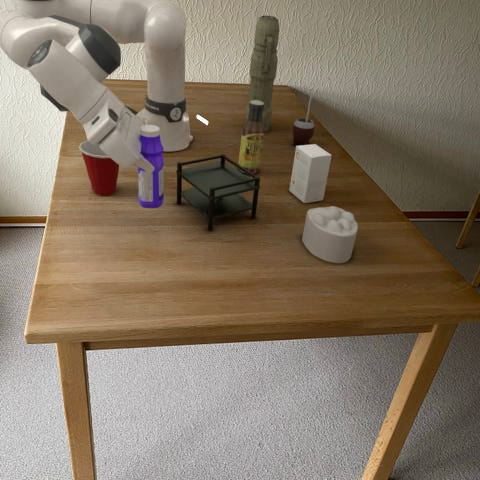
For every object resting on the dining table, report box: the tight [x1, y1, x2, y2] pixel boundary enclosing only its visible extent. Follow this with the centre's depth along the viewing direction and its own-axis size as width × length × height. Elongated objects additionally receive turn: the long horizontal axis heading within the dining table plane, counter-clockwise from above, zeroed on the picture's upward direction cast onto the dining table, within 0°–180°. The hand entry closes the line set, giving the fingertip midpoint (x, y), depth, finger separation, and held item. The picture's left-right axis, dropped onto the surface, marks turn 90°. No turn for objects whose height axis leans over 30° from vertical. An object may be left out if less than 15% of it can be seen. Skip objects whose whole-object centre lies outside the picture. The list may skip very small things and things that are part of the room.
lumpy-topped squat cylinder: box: [301, 205, 359, 264], centre depth 117 cm, size 10×13×9 cm
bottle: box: [137, 125, 165, 209], centre depth 112 cm, size 7×6×17 cm
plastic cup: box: [78, 140, 120, 196], centre depth 130 cm, size 11×11×12 cm
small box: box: [288, 143, 333, 204], centre depth 137 cm, size 8×6×13 cm
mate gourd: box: [292, 93, 315, 147], centre depth 167 cm, size 8×8×15 cm
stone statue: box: [244, 15, 280, 133], centre depth 169 cm, size 9×12×35 cm
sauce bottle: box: [237, 100, 265, 175], centre depth 145 cm, size 6×6×20 cm
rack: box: [175, 153, 261, 232], centre depth 126 cm, size 16×14×11 cm
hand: (153, 162), depth 111 cm, fingers closed on bottle, 7 cm apart
